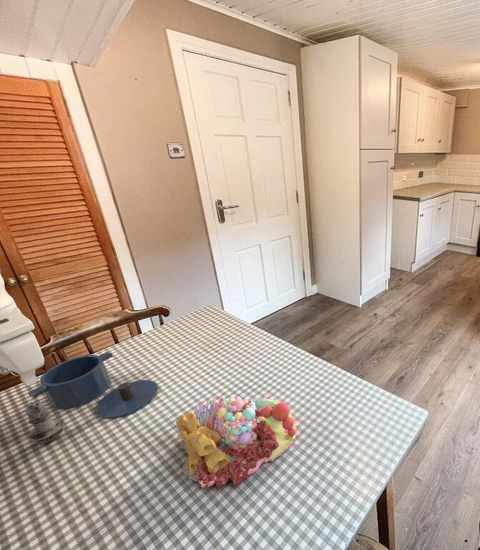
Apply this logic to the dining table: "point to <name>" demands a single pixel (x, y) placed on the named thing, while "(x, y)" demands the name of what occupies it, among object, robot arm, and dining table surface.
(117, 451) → the dining table surface
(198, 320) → the dining table surface
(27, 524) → the dining table surface
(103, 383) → the pot
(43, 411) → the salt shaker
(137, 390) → the pot lid
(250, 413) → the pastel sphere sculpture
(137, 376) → the dining table surface
